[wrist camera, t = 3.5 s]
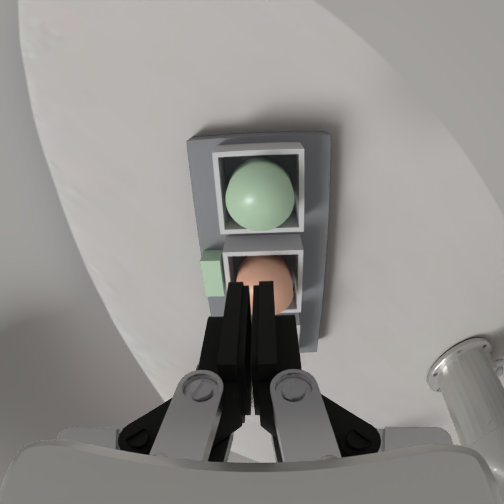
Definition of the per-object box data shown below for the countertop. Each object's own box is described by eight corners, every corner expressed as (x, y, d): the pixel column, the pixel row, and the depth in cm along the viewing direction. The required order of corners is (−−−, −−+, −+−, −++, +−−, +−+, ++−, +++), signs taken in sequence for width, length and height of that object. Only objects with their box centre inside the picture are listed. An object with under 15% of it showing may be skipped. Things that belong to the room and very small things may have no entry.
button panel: (191, 137, 27) (177, 148, 23) (326, 131, 26) (338, 141, 22) (219, 342, 39) (215, 372, 35) (314, 340, 39) (319, 370, 34)
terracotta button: (291, 250, 28) (293, 269, 26) (290, 295, 31) (292, 315, 28) (235, 252, 29) (232, 270, 26) (239, 297, 31) (237, 317, 28)
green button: (290, 156, 24) (294, 165, 22) (291, 214, 27) (294, 229, 24) (227, 158, 24) (222, 168, 22) (232, 216, 27) (228, 232, 24)
